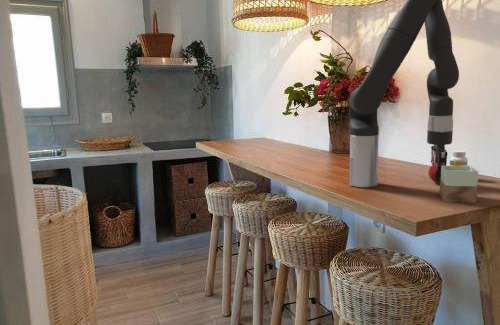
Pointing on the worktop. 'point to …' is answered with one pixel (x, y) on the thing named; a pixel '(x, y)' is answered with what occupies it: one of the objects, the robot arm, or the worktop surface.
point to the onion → (433, 173)
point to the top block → (459, 175)
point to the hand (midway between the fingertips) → (437, 178)
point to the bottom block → (458, 193)
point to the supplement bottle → (458, 158)
